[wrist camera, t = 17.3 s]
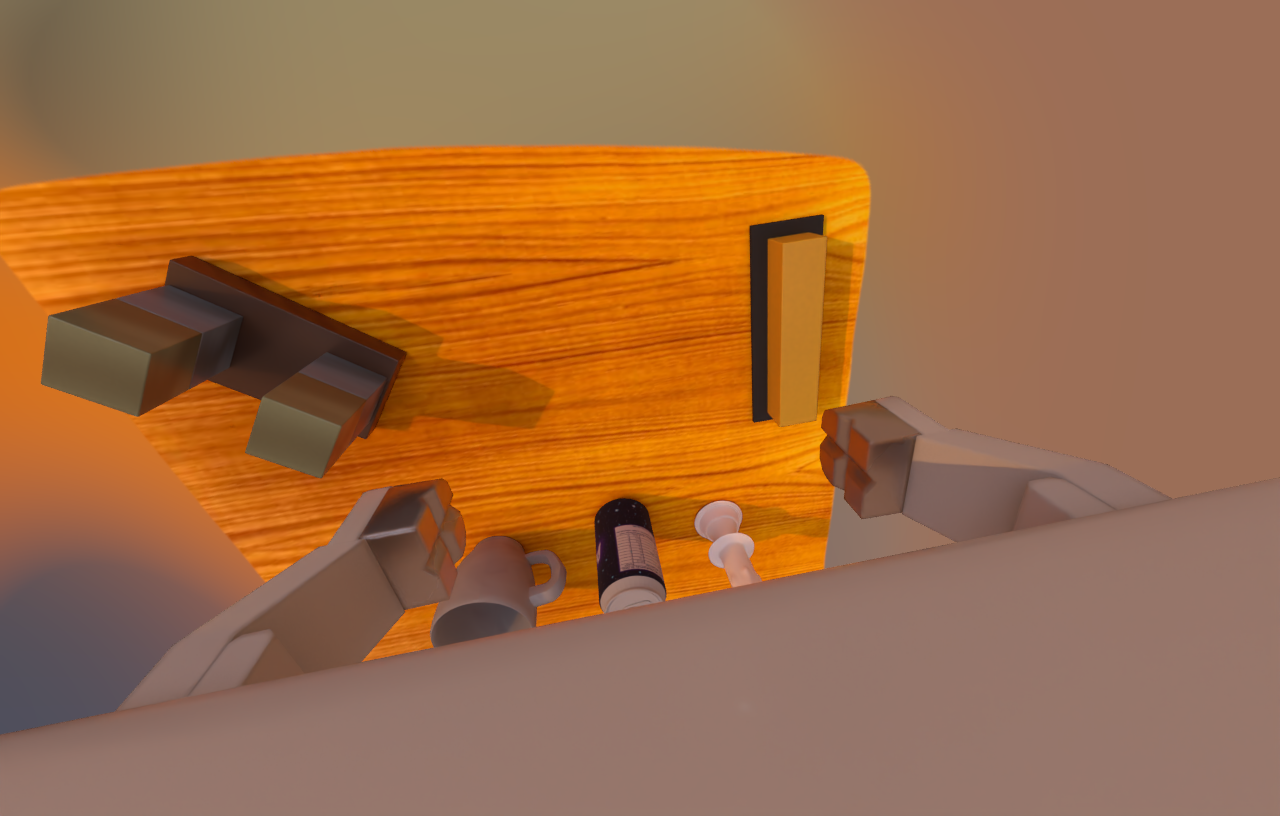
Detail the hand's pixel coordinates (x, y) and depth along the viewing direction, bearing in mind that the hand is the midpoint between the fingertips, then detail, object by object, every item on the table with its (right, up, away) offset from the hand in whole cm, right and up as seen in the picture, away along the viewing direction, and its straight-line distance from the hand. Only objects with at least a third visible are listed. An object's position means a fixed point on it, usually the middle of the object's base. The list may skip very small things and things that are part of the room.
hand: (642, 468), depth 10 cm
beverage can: (-2, -10, +38) cm, 39 cm away
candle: (+9, -11, +40) cm, 42 cm away
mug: (-13, -14, +38) cm, 42 cm away
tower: (-27, +6, +26) cm, 38 cm away
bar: (+13, +8, +30) cm, 34 cm away
